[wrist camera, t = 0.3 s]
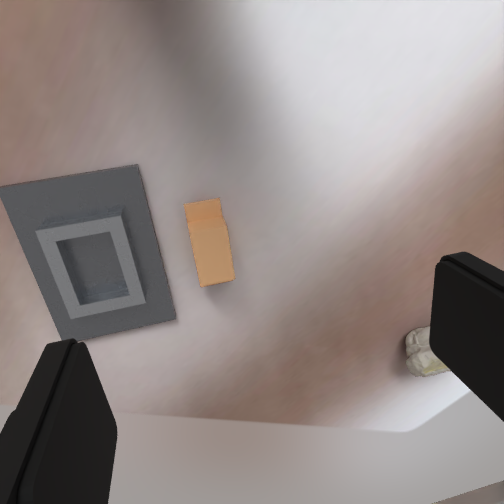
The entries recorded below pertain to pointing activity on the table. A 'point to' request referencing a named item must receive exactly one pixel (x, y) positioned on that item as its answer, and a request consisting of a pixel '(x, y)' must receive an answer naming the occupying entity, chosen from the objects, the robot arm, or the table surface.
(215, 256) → the tabbed block
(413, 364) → the fossil replica
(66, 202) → the pocket plate
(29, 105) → the table surface
